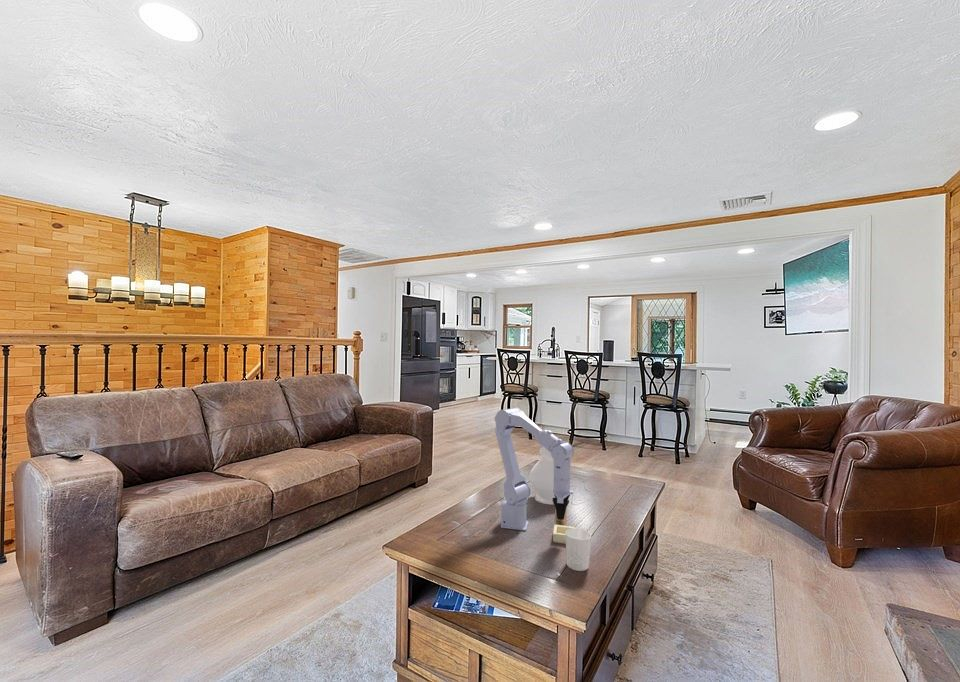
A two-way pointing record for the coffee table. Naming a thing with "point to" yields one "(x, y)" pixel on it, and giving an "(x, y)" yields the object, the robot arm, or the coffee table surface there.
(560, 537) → the cream square tray
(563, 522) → the brown cylinder
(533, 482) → the decorative vase
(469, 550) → the coffee table surface
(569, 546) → the white cup
